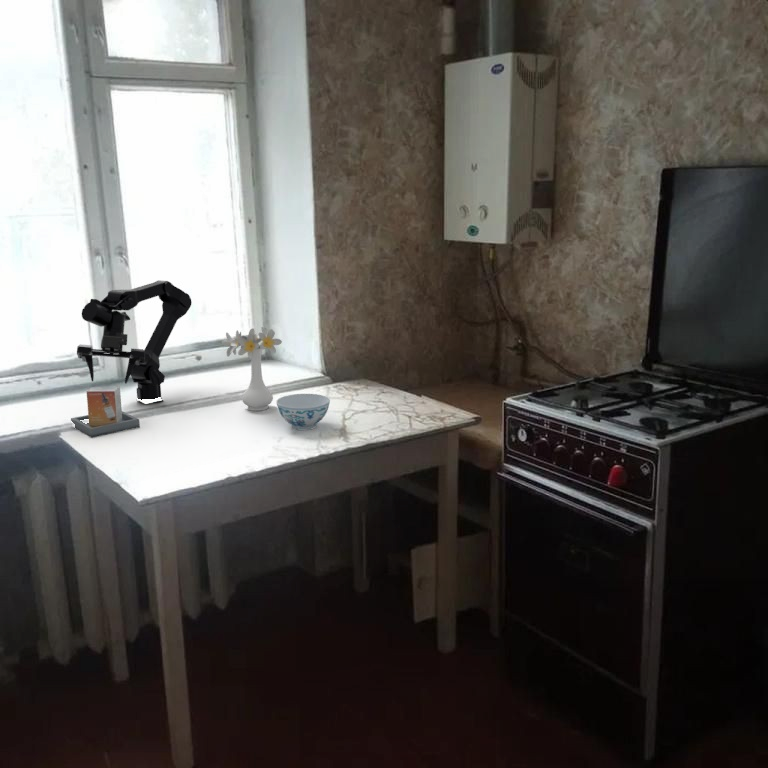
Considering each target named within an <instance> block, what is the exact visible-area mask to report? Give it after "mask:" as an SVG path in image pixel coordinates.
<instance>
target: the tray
mask: <svg viewBox="0 0 768 768" xmlns="http://www.w3.org/2000/svg"><path fill="white" fill-rule="evenodd" d="M84 419H89V416H88V414H86V415H80V416H75V417H71V418H70V422H71V421H72V422H73V423H74V424H75V428H76V430H77V431H78V432H80V433H82V434H84V435H86V436H87V437H89V438H91V439H93V438H97V437H102V436H106V435H110V434H116V433H120V432H126V431H130V430H134V429H139V428H140V427H141V426H140V419H139V418H138V417H136V416H133V415H132V414H129V413H127V412H125V411H123V410H122V420H123V421H122V422H117V423H112V424H108V425H103V426H98V427H91V426H89V423H87V424H85V423H83V422H82V421H80V420H84ZM75 428H74V429H75Z"/></svg>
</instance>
